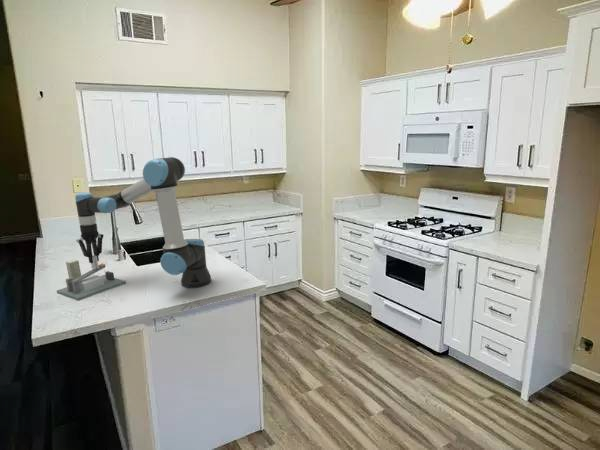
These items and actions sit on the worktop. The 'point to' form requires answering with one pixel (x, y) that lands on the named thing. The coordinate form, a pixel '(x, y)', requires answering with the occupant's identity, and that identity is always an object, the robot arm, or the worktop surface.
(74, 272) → the box
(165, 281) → the worktop surface
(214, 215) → the worktop surface
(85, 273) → the lever handle
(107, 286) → the clamp base
